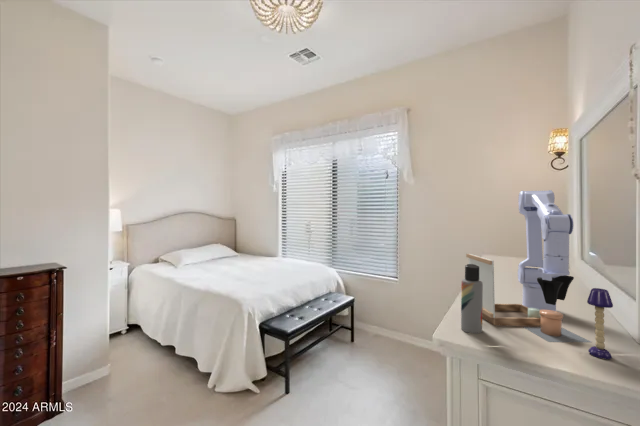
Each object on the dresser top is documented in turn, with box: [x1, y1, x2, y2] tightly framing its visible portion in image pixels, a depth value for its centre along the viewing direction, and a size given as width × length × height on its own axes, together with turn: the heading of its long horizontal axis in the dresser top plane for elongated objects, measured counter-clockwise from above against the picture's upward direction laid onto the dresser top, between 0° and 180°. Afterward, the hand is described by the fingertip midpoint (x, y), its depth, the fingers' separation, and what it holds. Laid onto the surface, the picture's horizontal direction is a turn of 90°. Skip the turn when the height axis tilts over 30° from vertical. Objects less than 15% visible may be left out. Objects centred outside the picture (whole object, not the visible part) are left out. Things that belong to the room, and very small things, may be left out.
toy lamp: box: [586, 287, 614, 360], centre depth 71 cm, size 5×5×17 cm
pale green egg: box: [528, 308, 541, 318], centre depth 91 cm, size 4×4×4 cm
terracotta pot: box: [539, 309, 564, 336], centre depth 83 cm, size 5×5×6 cm
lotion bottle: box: [460, 263, 483, 334], centre depth 85 cm, size 6×6×20 cm
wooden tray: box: [482, 303, 541, 327], centre depth 95 cm, size 18×14×3 cm
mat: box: [522, 326, 592, 343], centre depth 82 cm, size 12×10×1 cm
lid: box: [465, 253, 496, 318], centre depth 95 cm, size 18×14×1 cm
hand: (555, 301), depth 82 cm, fingers open, 7 cm apart
